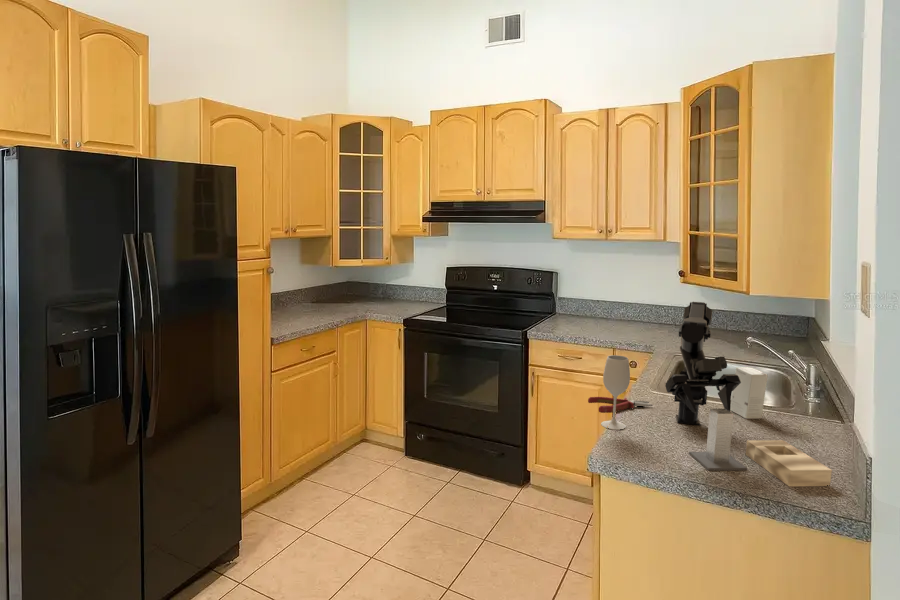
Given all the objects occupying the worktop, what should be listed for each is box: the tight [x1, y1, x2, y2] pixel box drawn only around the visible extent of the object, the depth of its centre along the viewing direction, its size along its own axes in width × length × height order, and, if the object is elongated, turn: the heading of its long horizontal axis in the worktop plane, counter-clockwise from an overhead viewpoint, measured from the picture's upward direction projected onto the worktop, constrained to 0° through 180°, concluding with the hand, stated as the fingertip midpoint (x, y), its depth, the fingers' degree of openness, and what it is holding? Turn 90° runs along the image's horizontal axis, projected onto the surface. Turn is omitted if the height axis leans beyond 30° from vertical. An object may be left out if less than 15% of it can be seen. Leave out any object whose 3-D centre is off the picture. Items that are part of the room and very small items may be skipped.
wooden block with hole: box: [745, 439, 833, 487], centre depth 143 cm, size 18×10×4 cm, turn 3°
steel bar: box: [705, 408, 734, 463], centre depth 146 cm, size 4×4×13 cm
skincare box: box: [730, 366, 769, 420], centre depth 183 cm, size 8×6×15 cm
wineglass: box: [600, 354, 631, 431], centre depth 170 cm, size 8×8×21 cm
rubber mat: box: [688, 451, 748, 471], centre depth 147 cm, size 10×10×1 cm
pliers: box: [587, 396, 654, 414], centre depth 189 cm, size 12×20×3 cm, turn 98°
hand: (712, 412), depth 150 cm, fingers open, 9 cm apart
